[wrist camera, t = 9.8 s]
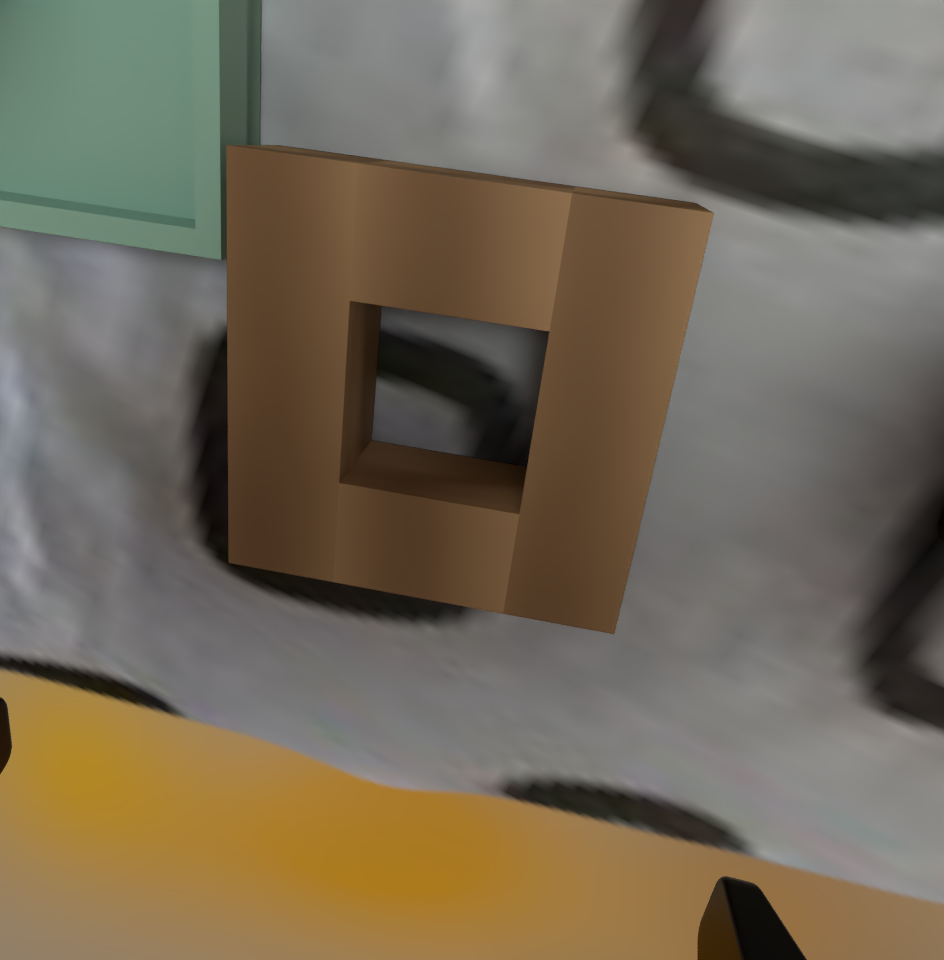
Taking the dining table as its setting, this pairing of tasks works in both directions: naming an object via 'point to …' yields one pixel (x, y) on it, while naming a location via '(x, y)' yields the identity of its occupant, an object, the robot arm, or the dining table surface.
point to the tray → (126, 117)
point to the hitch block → (465, 294)
